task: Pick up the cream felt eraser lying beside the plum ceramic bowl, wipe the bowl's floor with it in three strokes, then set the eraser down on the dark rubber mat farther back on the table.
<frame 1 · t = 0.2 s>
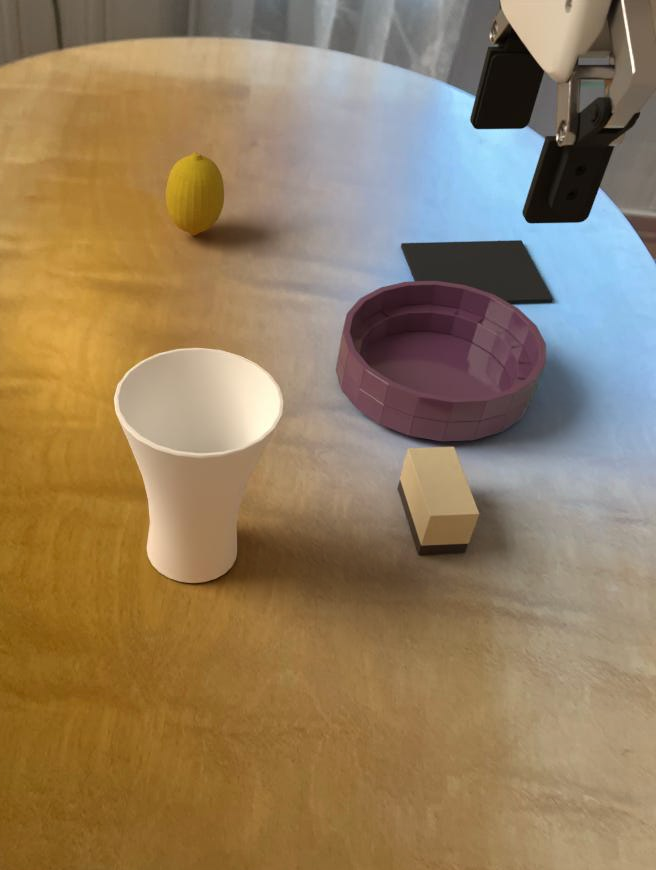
hand: (524, 170, 52), 27 cm above the table, tool pointing down, fingers open, 9 cm apart
mat: (474, 274, 95), on the table
cup: (191, 552, 72), on the table
bowl: (431, 382, 85), on the table
eraser: (430, 519, 75), on the table
lemon: (193, 236, 98), on the table
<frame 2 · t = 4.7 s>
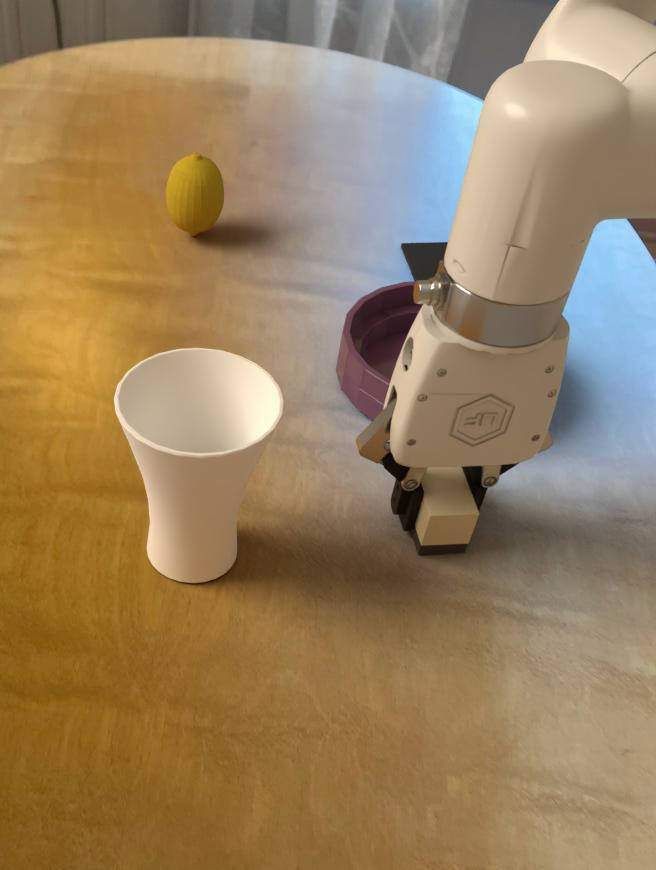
hand: (431, 514, 74), 1 cm above the table, tool pointing down, fingers closed on eraser, 3 cm apart
eraser: (430, 519, 75), on the table, touching gripper
everything else where it was.
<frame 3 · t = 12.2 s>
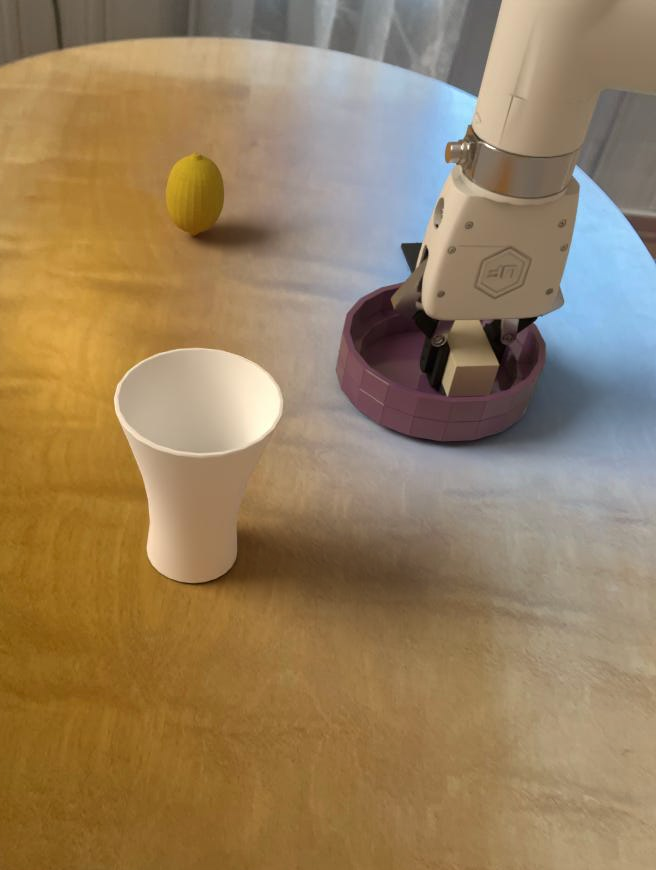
hand: (456, 374, 84), 1 cm above the table, tool pointing down, fingers closed on eraser, 3 cm apart
eraser: (454, 379, 84), point 1 cm above the table, touching gripper
everything else where it was.
when the fingers open (1 cm above the table, at t = 19.7 s): eraser stays where it is, resting on mat.
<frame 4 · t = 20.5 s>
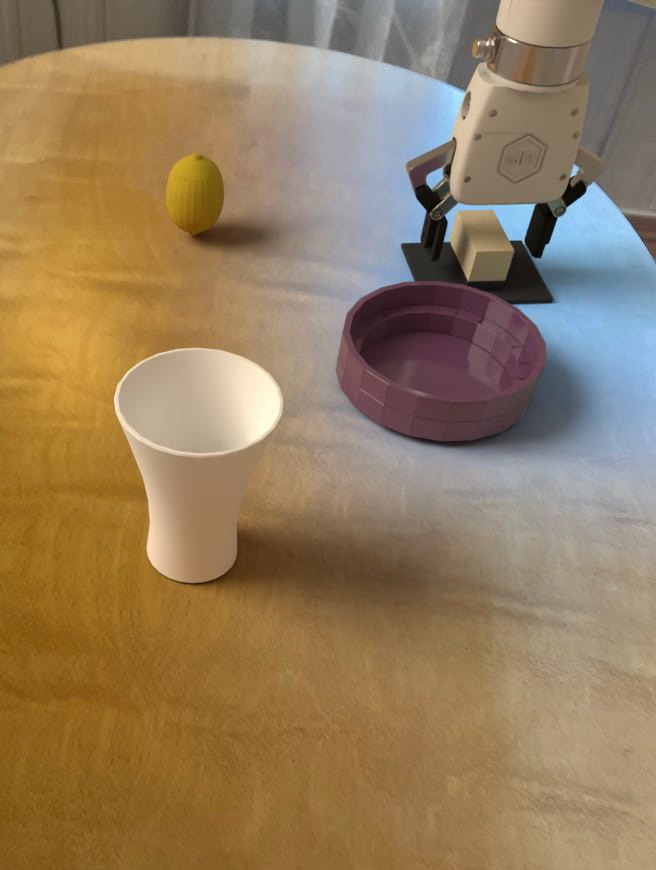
hand: (481, 251, 93), 2 cm above the table, tool pointing down, fingers open, 9 cm apart
eraser: (473, 269, 95), resting on mat
everything else where it was.
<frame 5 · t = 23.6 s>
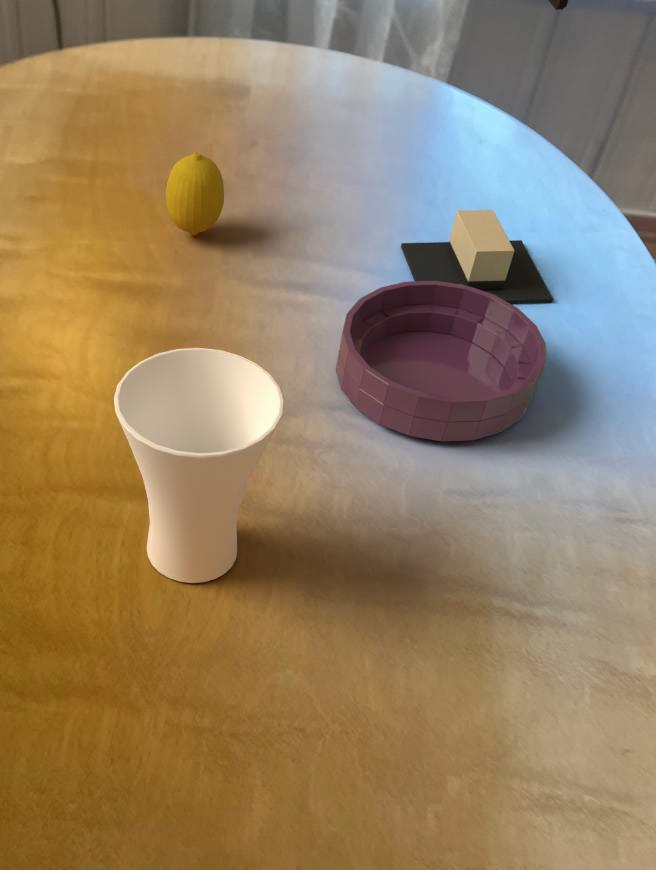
hand: (613, 2, 79), 22 cm above the table, tool pointing down, fingers open, 9 cm apart
nothing on the table moved.
at the end: eraser inside the target area on the mat (0.1 cm from its centre), point 0.4 cm above the mat's base; the gripper is holding nothing; eraser tilted 0° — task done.
